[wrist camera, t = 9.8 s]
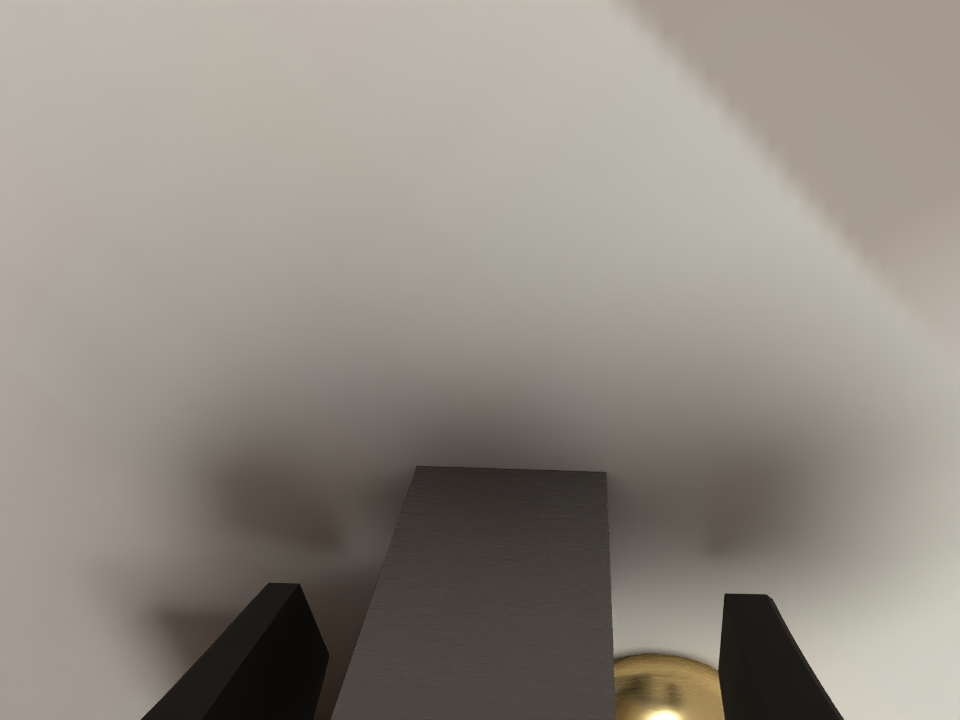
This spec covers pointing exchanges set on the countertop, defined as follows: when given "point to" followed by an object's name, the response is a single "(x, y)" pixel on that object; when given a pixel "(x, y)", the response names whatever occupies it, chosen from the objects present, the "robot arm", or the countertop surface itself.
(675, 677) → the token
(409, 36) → the countertop surface
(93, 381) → the countertop surface
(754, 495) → the countertop surface
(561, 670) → the dark grey block
